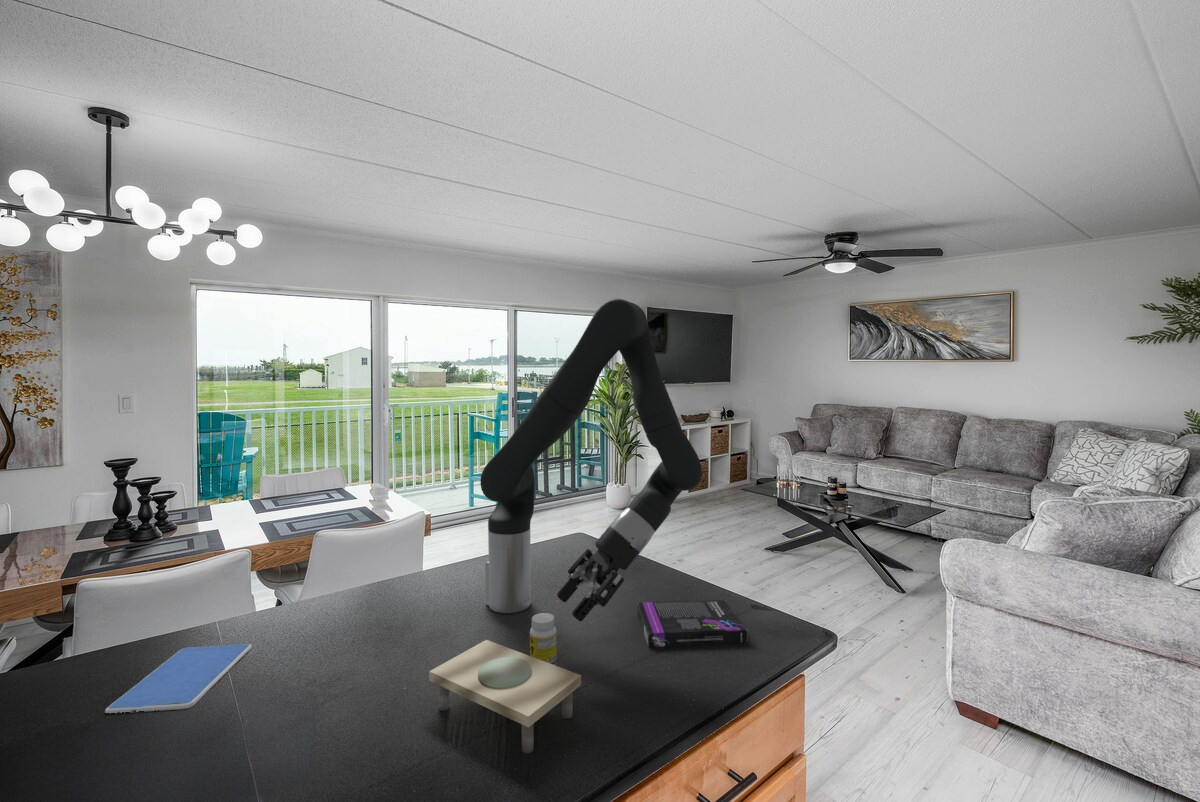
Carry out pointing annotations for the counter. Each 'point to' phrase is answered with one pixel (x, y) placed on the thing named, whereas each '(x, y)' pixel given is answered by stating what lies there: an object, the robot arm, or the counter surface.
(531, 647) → the supplement bottle
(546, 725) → the counter surface
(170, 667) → the tablet computer
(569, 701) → the shelf stand
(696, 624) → the box
